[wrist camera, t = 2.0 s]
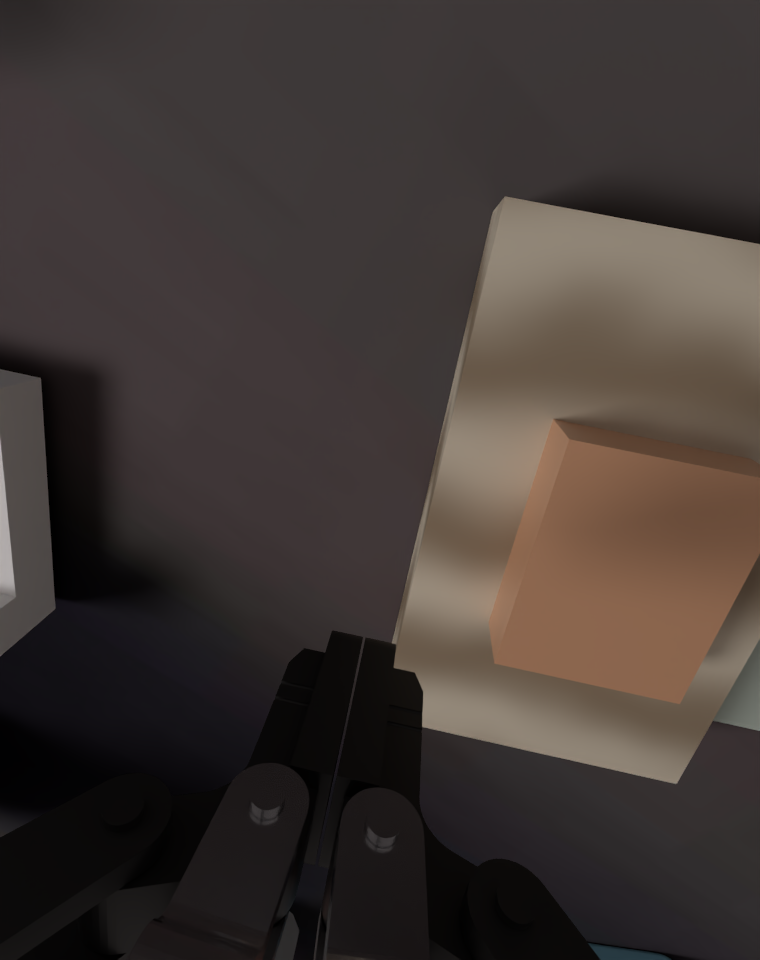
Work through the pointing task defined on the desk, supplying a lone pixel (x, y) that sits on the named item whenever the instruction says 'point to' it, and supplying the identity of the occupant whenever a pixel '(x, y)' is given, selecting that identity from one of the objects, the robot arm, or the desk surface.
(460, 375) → the light wood flat block
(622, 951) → the data package
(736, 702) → the mat
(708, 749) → the desk surface
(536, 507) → the tile
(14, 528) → the bracket
